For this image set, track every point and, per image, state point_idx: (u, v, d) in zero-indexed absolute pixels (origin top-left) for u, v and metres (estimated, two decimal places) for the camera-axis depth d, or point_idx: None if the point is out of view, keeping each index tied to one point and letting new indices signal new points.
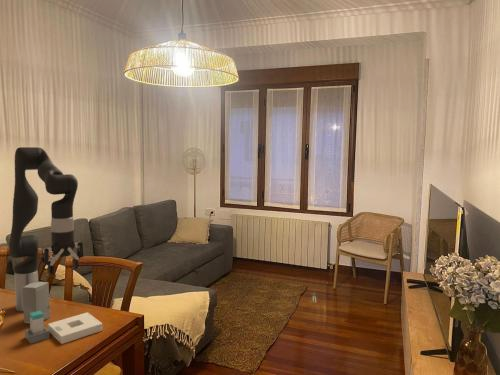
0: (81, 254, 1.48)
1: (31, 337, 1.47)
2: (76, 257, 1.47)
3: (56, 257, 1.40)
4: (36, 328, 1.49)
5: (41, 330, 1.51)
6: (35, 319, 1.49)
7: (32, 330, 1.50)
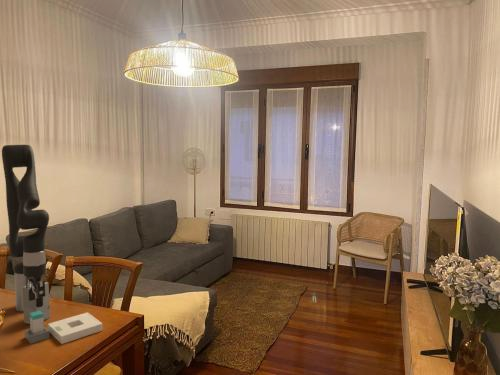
0: None
1: (31, 337, 1.47)
2: None
3: None
4: (36, 328, 1.49)
5: (41, 330, 1.51)
6: (35, 319, 1.49)
7: (32, 330, 1.50)
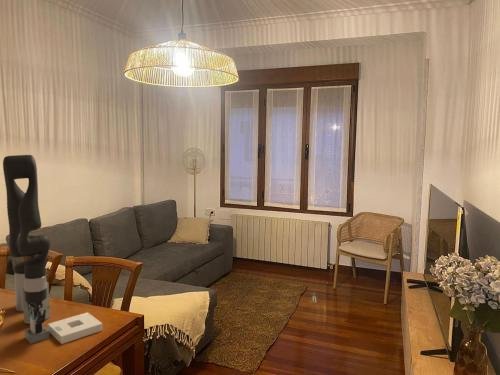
0: None
1: (31, 337, 1.47)
2: None
3: None
4: None
5: None
6: None
7: (32, 330, 1.50)
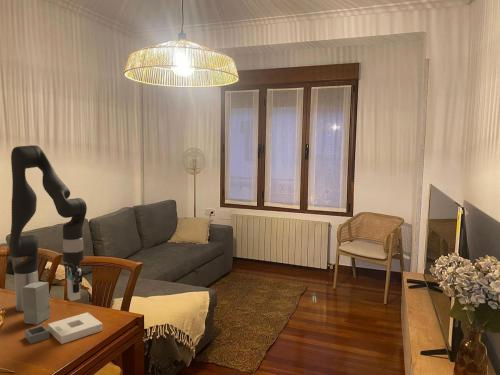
0: None
1: (31, 337, 1.47)
2: None
3: None
4: None
5: None
6: (72, 280, 1.54)
7: (69, 291, 1.55)
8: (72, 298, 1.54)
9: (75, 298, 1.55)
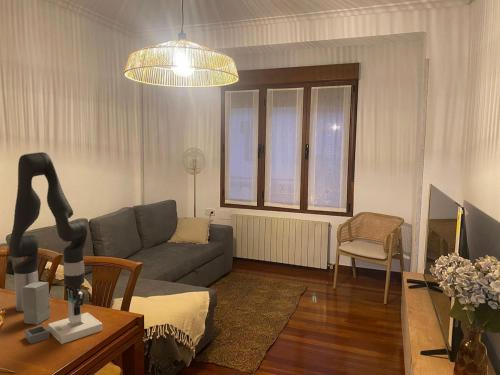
0: None
1: (31, 337, 1.47)
2: None
3: None
4: None
5: None
6: None
7: (70, 313, 1.56)
8: (73, 320, 1.55)
9: (76, 320, 1.56)
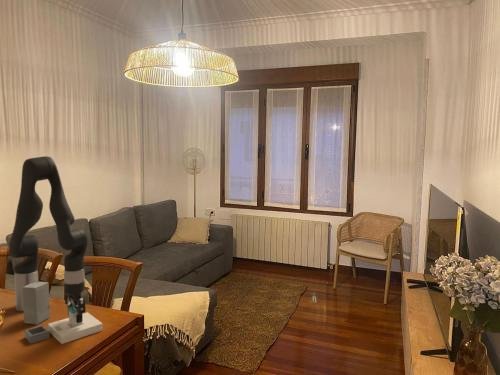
0: None
1: (31, 337, 1.47)
2: None
3: None
4: (75, 321, 1.56)
5: (79, 323, 1.57)
6: (74, 313, 1.55)
7: (70, 323, 1.56)
8: None
9: None
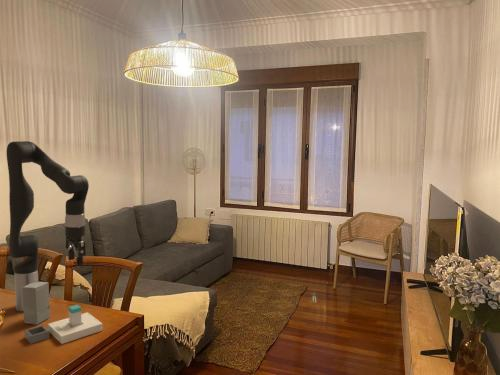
0: None
1: (31, 337, 1.47)
2: None
3: None
4: (74, 321, 1.56)
5: (79, 323, 1.57)
6: (74, 313, 1.55)
7: (70, 324, 1.56)
8: None
9: None
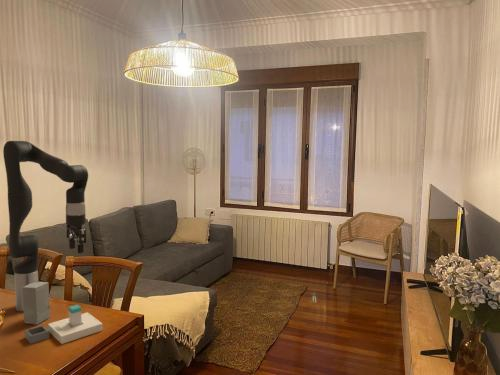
0: None
1: (31, 337, 1.47)
2: None
3: None
4: (74, 321, 1.56)
5: (79, 323, 1.57)
6: (74, 313, 1.55)
7: (70, 324, 1.56)
8: None
9: None
